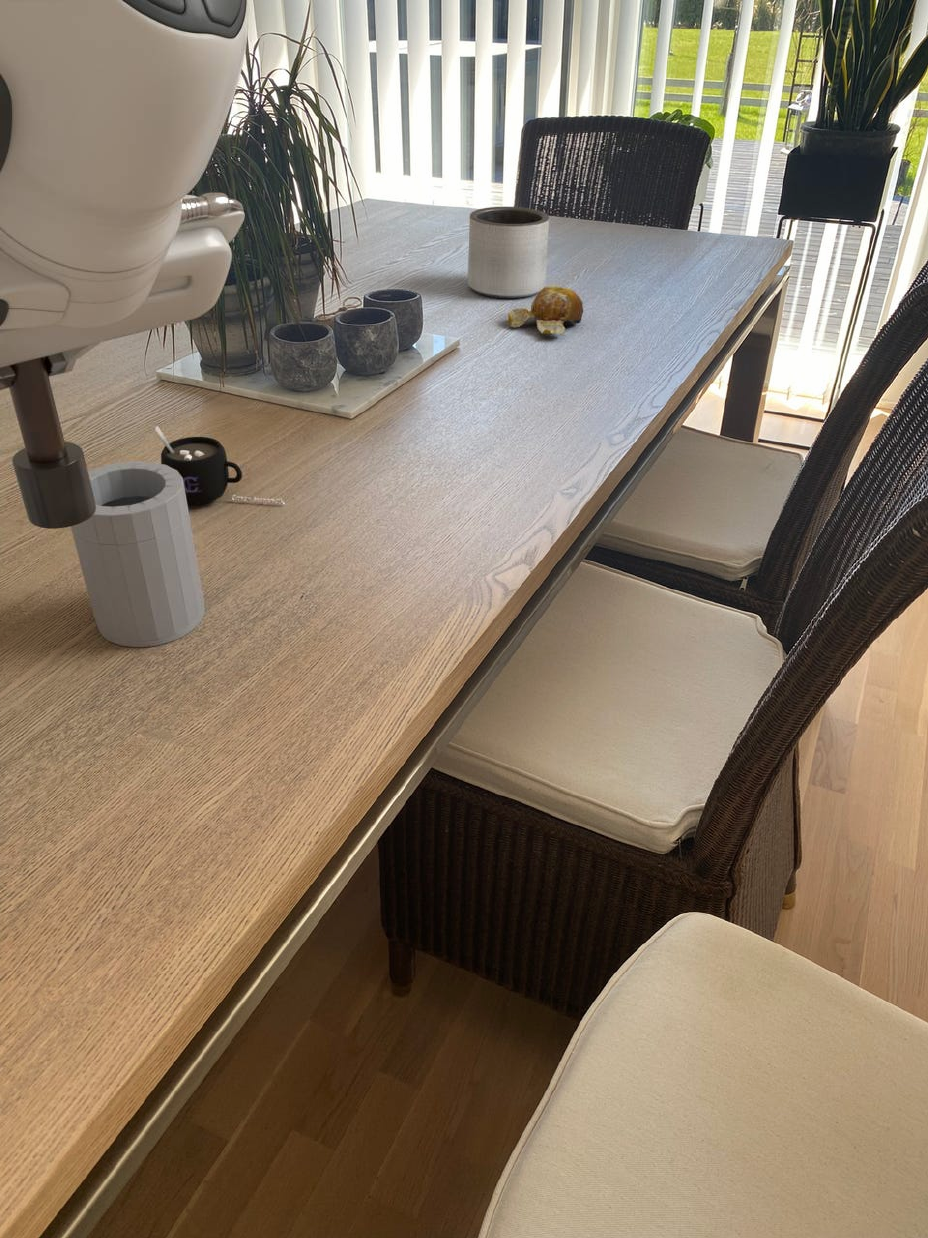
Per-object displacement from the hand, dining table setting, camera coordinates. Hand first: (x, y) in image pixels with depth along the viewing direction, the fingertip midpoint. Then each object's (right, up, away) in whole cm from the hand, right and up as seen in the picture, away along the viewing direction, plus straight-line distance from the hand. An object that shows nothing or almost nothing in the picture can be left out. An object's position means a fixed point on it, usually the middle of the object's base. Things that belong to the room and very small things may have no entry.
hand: (21, 371), depth 54 cm
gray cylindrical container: (-1, -14, +24) cm, 28 cm away
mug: (+2, -2, +40) cm, 41 cm away
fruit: (+36, +25, +82) cm, 93 cm away
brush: (0, -8, +5) cm, 9 cm away
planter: (+32, +39, +99) cm, 111 cm away
